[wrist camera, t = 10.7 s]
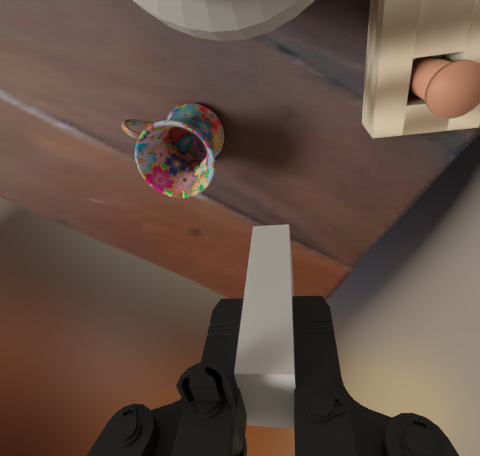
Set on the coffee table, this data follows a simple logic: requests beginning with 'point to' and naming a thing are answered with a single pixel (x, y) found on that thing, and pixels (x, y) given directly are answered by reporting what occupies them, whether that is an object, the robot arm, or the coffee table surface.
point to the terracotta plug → (446, 85)
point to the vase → (224, 16)
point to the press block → (408, 49)
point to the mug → (178, 150)
